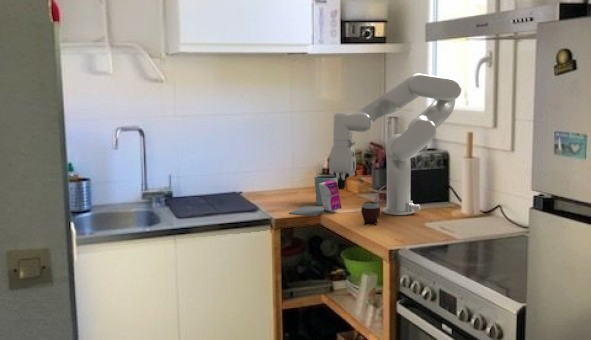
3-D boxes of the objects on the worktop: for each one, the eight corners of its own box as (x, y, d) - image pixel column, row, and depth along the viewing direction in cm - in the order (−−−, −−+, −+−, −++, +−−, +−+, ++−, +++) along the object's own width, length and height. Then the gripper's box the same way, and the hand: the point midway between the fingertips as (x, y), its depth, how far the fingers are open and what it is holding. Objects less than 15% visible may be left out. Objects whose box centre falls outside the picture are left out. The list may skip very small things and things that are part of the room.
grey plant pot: (310, 203, 283) (309, 176, 282) (328, 200, 289) (327, 173, 287) (324, 207, 275) (324, 179, 273) (342, 203, 281) (342, 176, 279)
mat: (331, 208, 272) (331, 207, 272) (315, 216, 259) (315, 215, 259) (305, 206, 278) (305, 205, 278) (288, 213, 265) (288, 212, 265)
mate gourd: (357, 223, 247) (357, 184, 244) (374, 220, 251) (374, 182, 248) (369, 227, 240) (369, 187, 238) (386, 224, 244) (386, 184, 242)
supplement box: (330, 212, 262) (324, 185, 260) (323, 210, 267) (317, 183, 265) (342, 208, 264) (336, 181, 262) (335, 206, 269) (330, 180, 268)
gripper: (363, 144, 259) (362, 189, 262) (329, 141, 266) (328, 185, 269) (356, 146, 252) (355, 192, 255) (321, 143, 259) (320, 188, 262)
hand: (341, 188), depth 262 cm, fingers closed
